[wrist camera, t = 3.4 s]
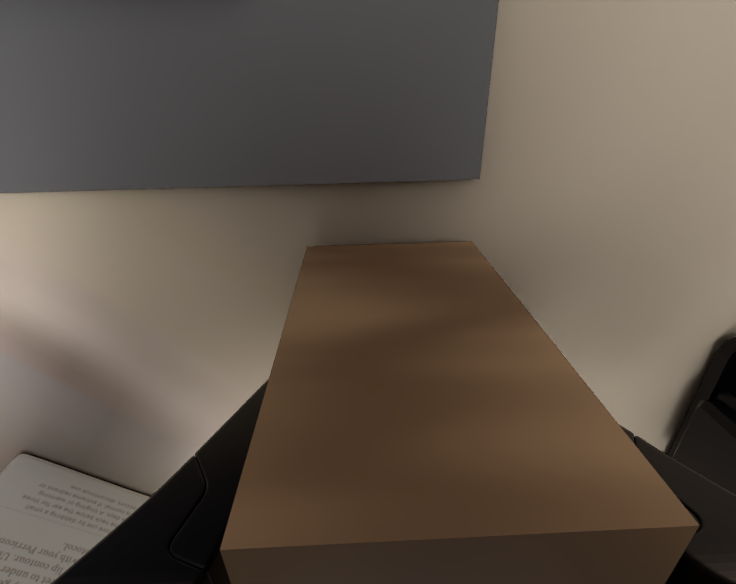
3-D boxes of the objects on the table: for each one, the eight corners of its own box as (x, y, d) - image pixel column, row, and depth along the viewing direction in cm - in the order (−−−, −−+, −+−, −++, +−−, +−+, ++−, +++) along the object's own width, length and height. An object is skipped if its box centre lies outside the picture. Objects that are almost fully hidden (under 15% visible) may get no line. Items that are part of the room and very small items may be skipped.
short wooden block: (471, 241, 9) (699, 525, 3) (455, 398, 12) (570, 741, 6) (307, 246, 9) (220, 548, 3) (322, 403, 12) (289, 758, 5)
